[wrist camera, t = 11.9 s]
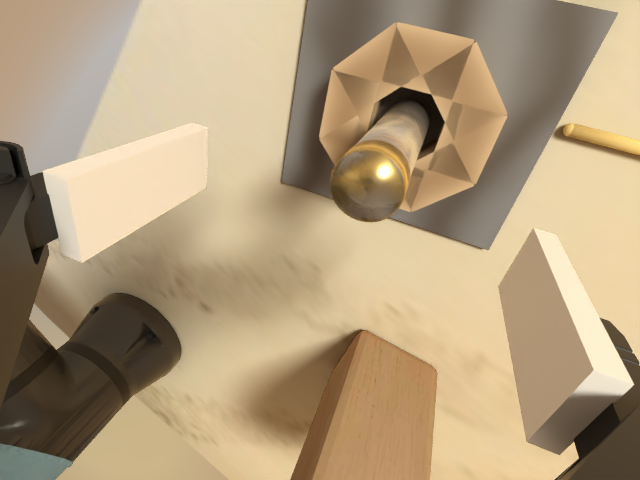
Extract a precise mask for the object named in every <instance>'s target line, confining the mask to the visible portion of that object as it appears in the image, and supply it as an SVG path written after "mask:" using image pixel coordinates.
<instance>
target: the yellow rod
mask: <svg viewBox="0 0 640 480" xmlns="http://www.w3.org/2000/svg"><path fill="white" fill-rule="evenodd" d="M563 133H564V135H566V136H568V137H572V138H576V139H580V140H583V141H587V142H591V143H595V144H598V145H602V146H606V147H610V148H613V149H617V150H621V151H625V152H628V153H632V154H636V155H640V141H639V140H635V139H632V138H628V137H624V136H620V135H616V134H612V133H608V132H605V131H601V130H597V129H593V128H589V127H585V126H581V125H578V124H574V123H570V124H567V125H566V126H565V127H564V128H563Z"/></svg>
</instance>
